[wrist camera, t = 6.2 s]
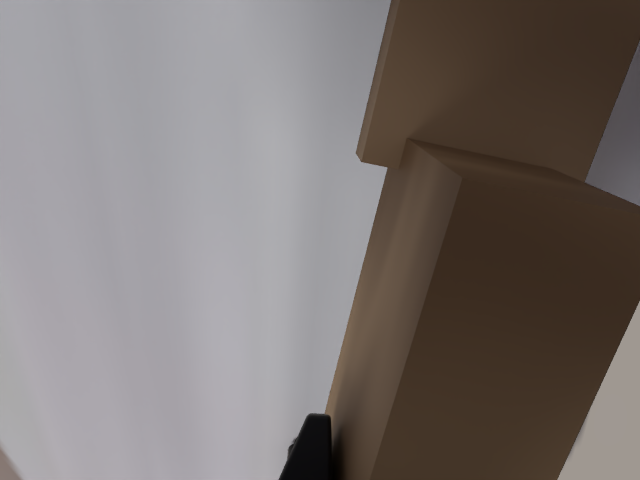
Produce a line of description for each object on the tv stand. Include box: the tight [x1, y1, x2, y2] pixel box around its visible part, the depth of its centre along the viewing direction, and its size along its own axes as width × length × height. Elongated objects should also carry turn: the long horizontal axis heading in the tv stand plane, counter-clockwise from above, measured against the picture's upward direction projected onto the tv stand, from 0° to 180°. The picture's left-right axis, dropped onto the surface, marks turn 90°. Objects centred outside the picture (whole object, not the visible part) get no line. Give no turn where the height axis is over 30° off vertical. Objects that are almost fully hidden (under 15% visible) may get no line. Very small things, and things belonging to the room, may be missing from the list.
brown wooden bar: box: [325, 0, 640, 480], centre depth 8 cm, size 18×4×4 cm, turn 168°
